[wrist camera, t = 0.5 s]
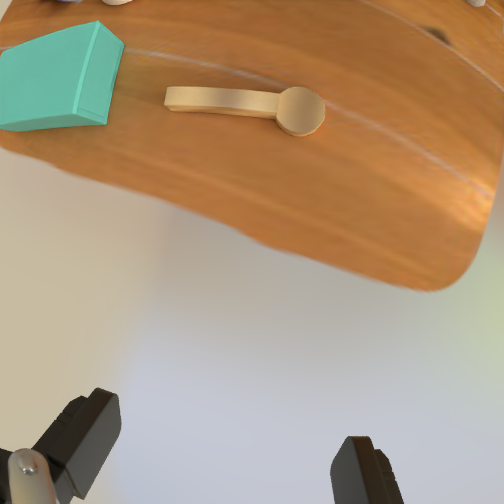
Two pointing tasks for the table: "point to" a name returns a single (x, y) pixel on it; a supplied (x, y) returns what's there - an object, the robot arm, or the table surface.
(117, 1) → the teacup with lid
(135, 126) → the table surface
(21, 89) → the lunchbox lid
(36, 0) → the table surface
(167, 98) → the spoon
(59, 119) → the box
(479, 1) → the decorative mushroom
